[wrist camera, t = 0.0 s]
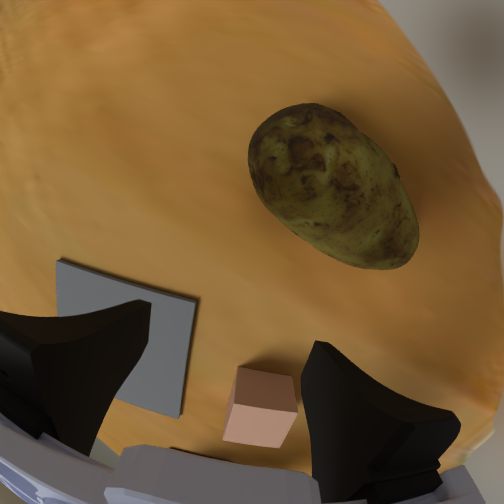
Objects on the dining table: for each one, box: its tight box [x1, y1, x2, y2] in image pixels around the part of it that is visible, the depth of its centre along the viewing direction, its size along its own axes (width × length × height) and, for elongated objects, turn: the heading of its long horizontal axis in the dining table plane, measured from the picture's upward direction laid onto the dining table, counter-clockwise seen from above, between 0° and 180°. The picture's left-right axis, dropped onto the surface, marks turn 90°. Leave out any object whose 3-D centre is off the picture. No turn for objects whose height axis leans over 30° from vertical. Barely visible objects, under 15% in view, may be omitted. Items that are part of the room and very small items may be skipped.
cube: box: [223, 367, 298, 448], centre depth 21 cm, size 5×5×5 cm
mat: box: [56, 259, 197, 419], centre depth 23 cm, size 14×14×1 cm
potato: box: [248, 103, 419, 270], centre depth 16 cm, size 8×13×8 cm, turn 36°
